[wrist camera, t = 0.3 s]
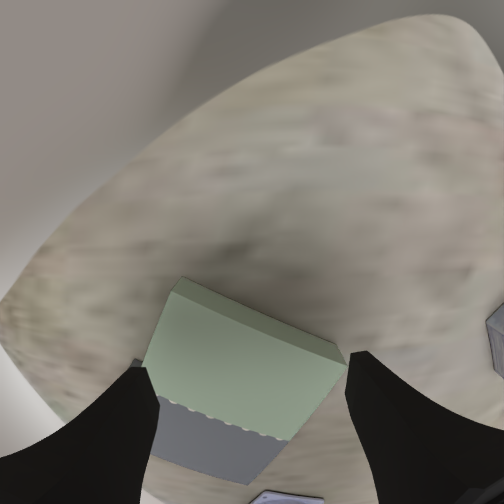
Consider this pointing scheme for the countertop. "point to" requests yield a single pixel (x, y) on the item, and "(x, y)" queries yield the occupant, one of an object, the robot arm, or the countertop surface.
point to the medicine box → (497, 339)
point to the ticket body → (211, 443)
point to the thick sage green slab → (239, 363)
